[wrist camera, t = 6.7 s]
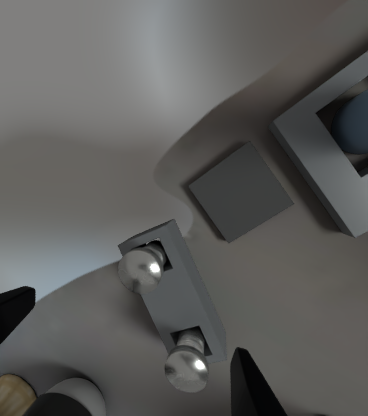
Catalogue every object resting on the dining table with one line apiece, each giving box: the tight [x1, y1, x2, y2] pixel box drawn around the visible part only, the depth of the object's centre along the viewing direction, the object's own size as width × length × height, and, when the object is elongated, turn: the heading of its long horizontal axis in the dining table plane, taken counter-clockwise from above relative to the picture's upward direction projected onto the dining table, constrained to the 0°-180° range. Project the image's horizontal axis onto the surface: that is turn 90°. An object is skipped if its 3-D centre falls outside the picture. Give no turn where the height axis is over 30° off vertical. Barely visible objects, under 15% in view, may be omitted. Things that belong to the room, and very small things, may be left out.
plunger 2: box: [165, 326, 209, 393], centre depth 17 cm, size 4×4×4 cm
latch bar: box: [118, 219, 227, 364], centre depth 18 cm, size 14×5×3 cm, turn 25°
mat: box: [188, 141, 294, 243], centre depth 17 cm, size 7×7×1 cm
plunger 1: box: [118, 240, 168, 294], centre depth 16 cm, size 4×4×4 cm
